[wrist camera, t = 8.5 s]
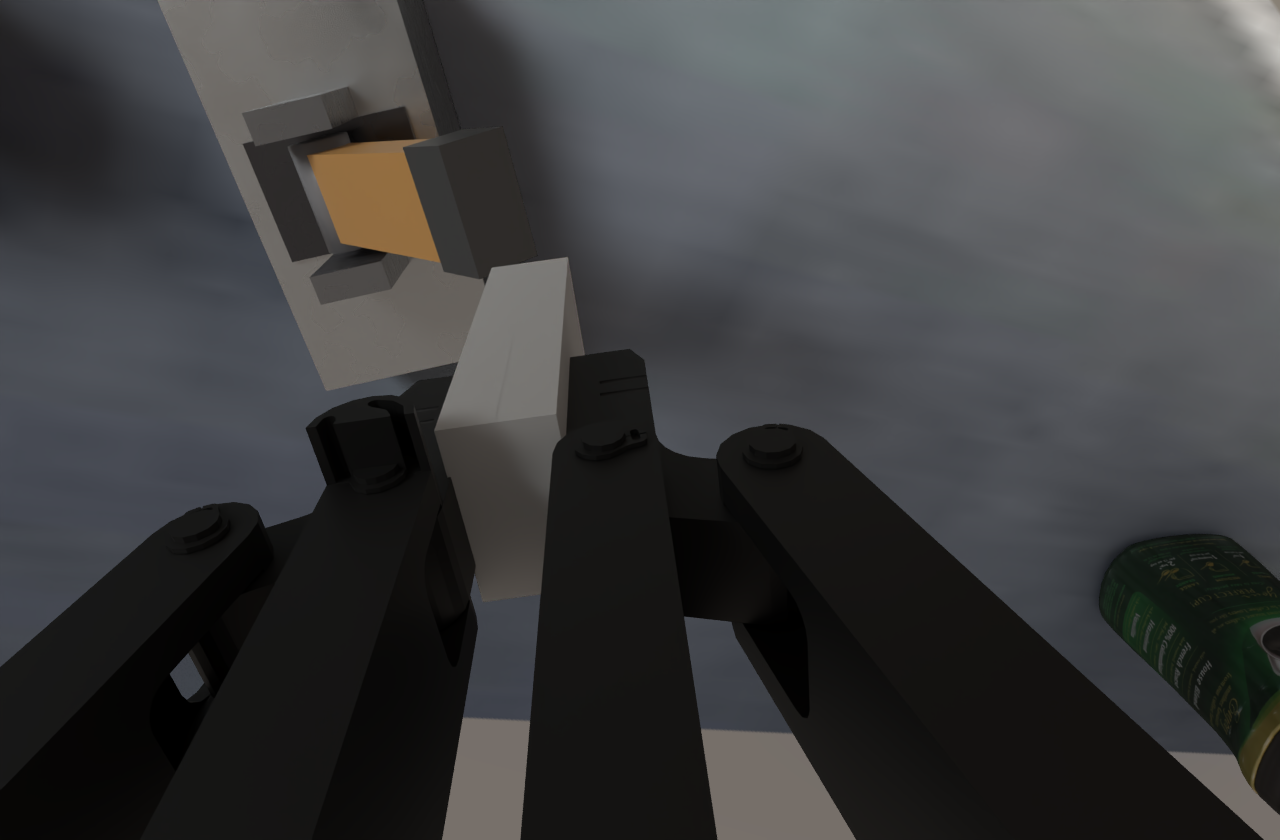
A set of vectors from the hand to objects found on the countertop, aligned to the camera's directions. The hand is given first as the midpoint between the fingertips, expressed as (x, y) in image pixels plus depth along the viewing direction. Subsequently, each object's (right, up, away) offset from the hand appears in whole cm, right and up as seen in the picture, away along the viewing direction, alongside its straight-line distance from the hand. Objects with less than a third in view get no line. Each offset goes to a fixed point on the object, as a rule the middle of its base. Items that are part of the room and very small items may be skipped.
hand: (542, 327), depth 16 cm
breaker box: (-11, +11, +24) cm, 29 cm away
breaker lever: (-11, +8, +18) cm, 23 cm away
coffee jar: (+39, -13, +40) cm, 57 cm away
